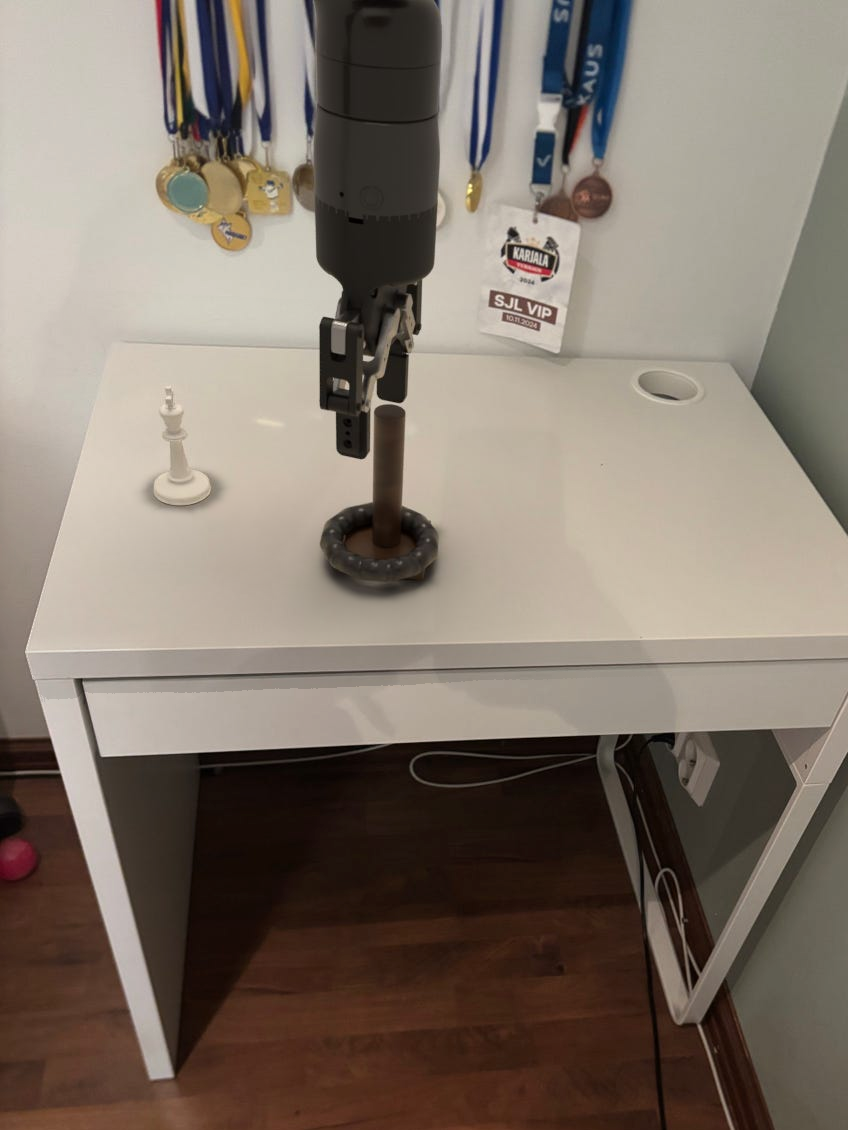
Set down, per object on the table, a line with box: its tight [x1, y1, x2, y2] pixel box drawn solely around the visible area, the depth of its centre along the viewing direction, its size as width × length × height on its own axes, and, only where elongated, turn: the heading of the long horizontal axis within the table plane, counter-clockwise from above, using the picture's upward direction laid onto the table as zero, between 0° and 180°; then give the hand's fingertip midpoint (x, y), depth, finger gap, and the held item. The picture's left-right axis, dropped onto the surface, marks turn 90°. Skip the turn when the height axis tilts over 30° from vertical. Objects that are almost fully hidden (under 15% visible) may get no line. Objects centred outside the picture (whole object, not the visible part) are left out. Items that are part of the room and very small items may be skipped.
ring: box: [319, 501, 440, 583], centre depth 79 cm, size 10×10×2 cm
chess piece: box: [153, 385, 212, 506], centre depth 82 cm, size 5×5×10 cm
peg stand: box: [338, 403, 432, 581], centre depth 77 cm, size 7×7×13 cm
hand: (373, 426), depth 69 cm, fingers open, 8 cm apart
